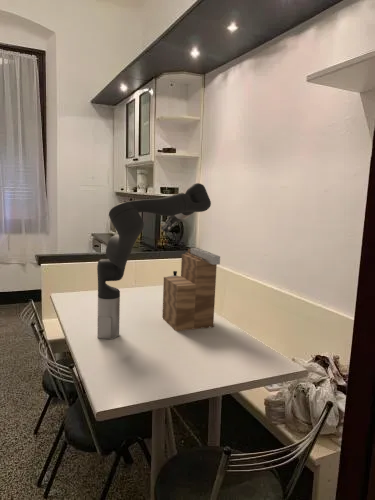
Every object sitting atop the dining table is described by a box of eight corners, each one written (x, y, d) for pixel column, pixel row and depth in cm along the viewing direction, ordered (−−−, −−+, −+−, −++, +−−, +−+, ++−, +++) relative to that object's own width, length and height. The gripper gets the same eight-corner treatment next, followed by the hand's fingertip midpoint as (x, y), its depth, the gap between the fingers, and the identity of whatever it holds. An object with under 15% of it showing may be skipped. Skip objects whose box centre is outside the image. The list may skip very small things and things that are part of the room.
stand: (213, 326, 184) (217, 254, 179) (175, 331, 177) (178, 256, 171) (197, 314, 200) (200, 248, 195) (162, 318, 193) (164, 249, 188)
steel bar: (219, 264, 170) (220, 256, 169) (212, 264, 168) (213, 256, 168) (196, 254, 191) (197, 247, 191) (190, 255, 190) (190, 247, 190)
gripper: (180, 191, 162) (166, 203, 177) (166, 219, 157) (153, 229, 171) (195, 201, 164) (180, 212, 179) (182, 229, 159) (167, 238, 173)
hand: (167, 220), depth 175 cm, fingers open, 8 cm apart
